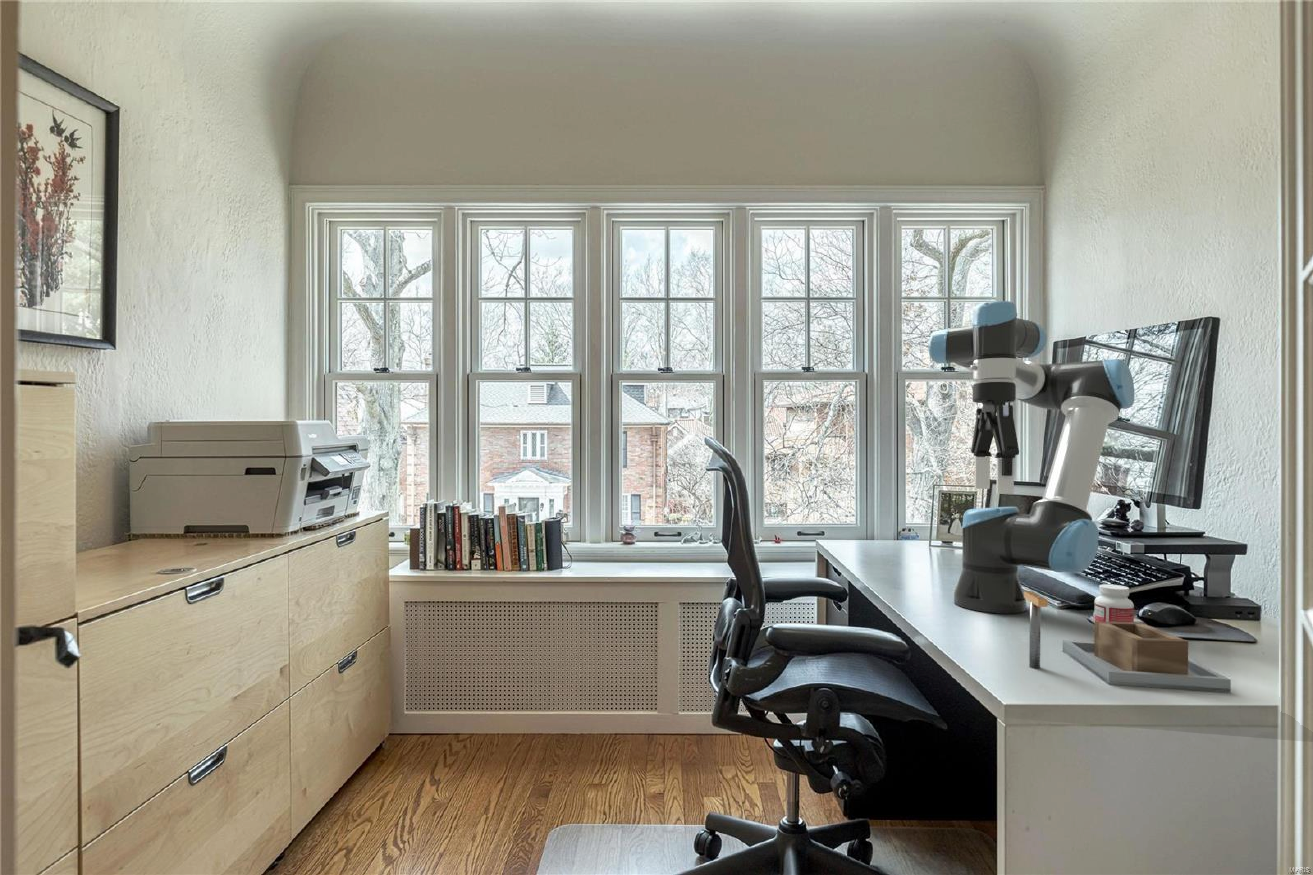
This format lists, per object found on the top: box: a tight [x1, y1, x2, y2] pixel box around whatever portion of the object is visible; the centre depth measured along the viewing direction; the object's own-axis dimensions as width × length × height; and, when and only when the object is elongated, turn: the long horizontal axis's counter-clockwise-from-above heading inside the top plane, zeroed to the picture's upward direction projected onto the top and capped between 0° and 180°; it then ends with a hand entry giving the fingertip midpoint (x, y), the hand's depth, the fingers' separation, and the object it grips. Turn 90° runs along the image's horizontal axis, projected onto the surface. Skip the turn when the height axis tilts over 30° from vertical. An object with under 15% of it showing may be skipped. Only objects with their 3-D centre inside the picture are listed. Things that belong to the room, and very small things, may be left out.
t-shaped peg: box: [1023, 590, 1048, 669], centre depth 113 cm, size 6×2×12 cm, turn 170°
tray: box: [1062, 639, 1232, 693], centre depth 112 cm, size 17×17×2 cm
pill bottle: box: [1094, 583, 1135, 622], centre depth 126 cm, size 6×6×11 cm
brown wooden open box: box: [1093, 621, 1189, 675], centre depth 112 cm, size 11×9×6 cm
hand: (992, 491), depth 129 cm, fingers open, 13 cm apart
